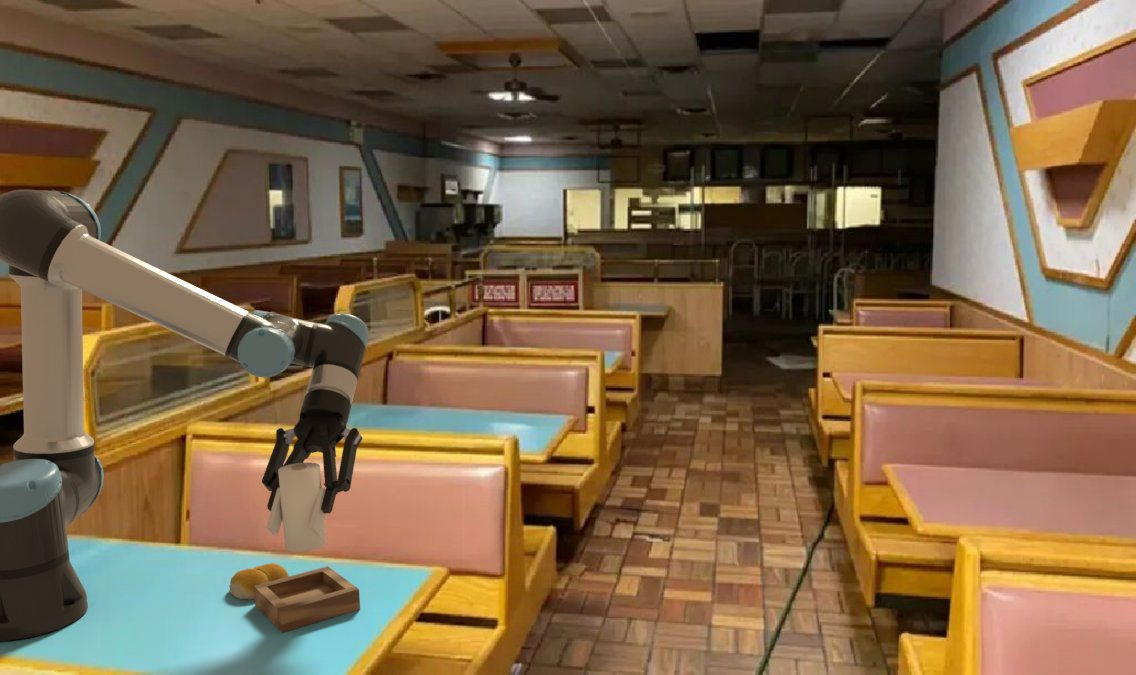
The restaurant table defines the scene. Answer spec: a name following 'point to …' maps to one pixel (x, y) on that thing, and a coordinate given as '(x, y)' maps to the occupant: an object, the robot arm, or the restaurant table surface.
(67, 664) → the restaurant table surface
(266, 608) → the tray
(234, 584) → the bread roll
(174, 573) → the restaurant table surface
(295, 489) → the paper roll
